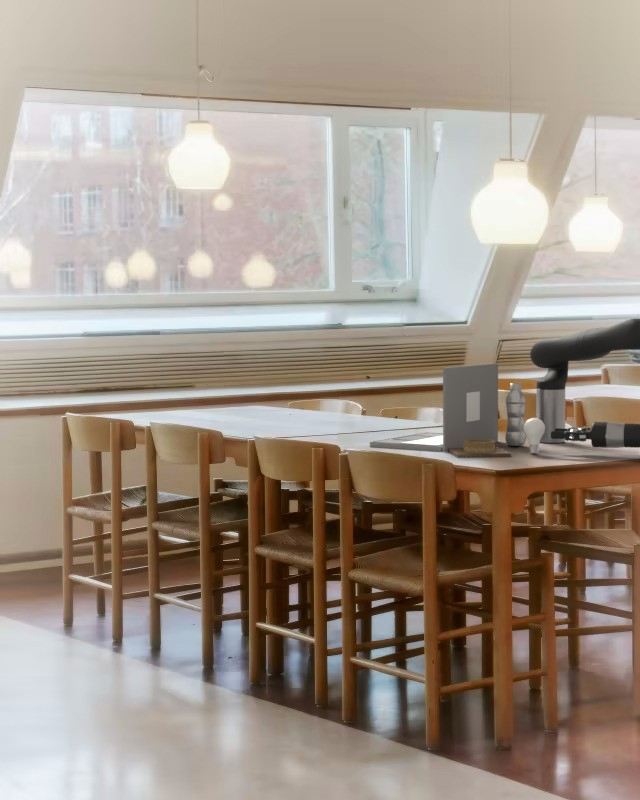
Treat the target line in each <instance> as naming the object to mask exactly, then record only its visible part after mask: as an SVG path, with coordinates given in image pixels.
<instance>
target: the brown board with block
mask: <svg viewBox="0 0 640 800" xmlns="http://www.w3.org/2000/svg"><path fill="white" fill-rule="evenodd" d="M450 452H451V454H452V455H453V456H454V455H455V456H454V457H456V458H457V457H462V458H511V457H512V453H511V452H510V451H507V449H504V448H502V447H496V442H495V441H494V440H488V439H470V440H464V448H449V451H448V453H450Z"/></svg>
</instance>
